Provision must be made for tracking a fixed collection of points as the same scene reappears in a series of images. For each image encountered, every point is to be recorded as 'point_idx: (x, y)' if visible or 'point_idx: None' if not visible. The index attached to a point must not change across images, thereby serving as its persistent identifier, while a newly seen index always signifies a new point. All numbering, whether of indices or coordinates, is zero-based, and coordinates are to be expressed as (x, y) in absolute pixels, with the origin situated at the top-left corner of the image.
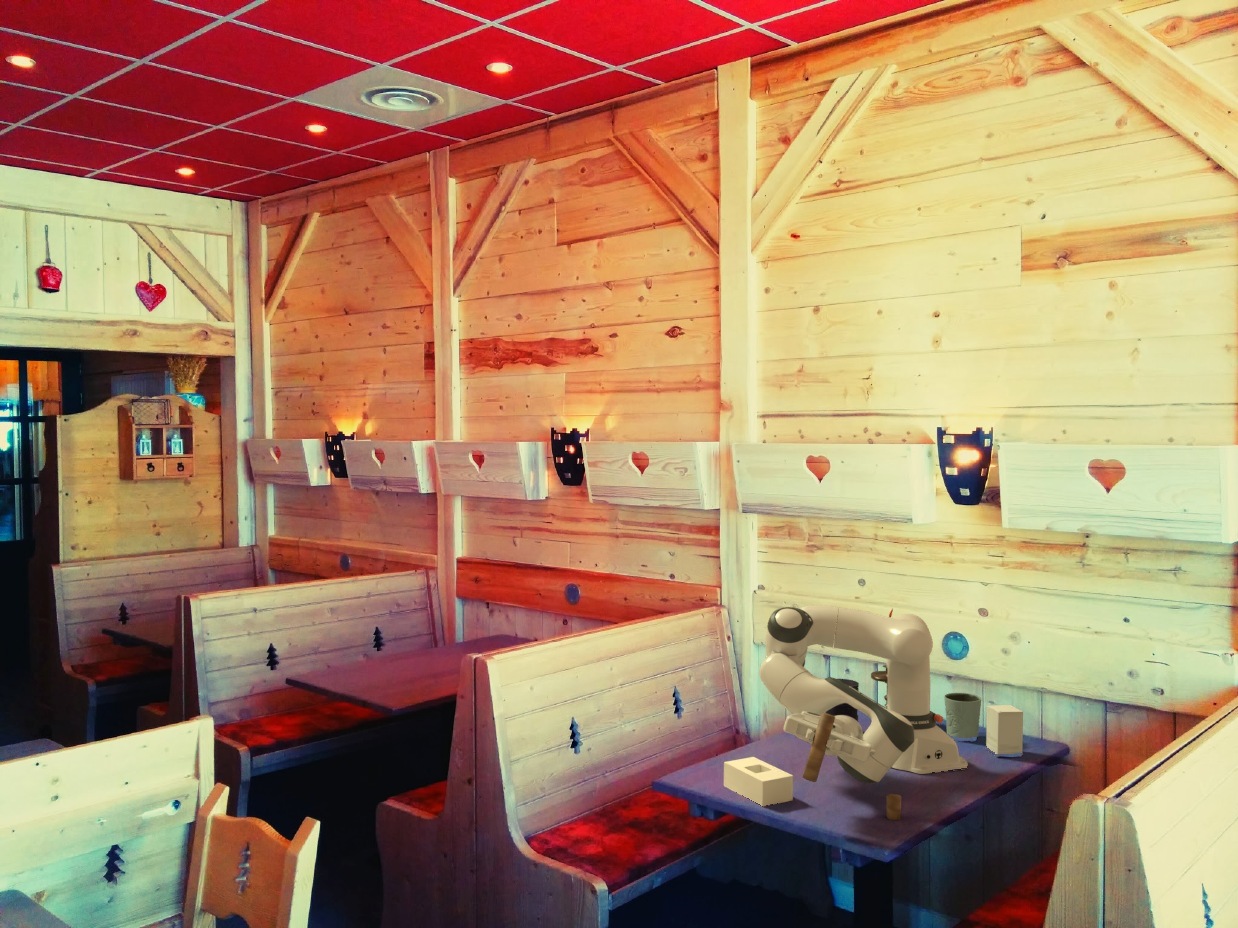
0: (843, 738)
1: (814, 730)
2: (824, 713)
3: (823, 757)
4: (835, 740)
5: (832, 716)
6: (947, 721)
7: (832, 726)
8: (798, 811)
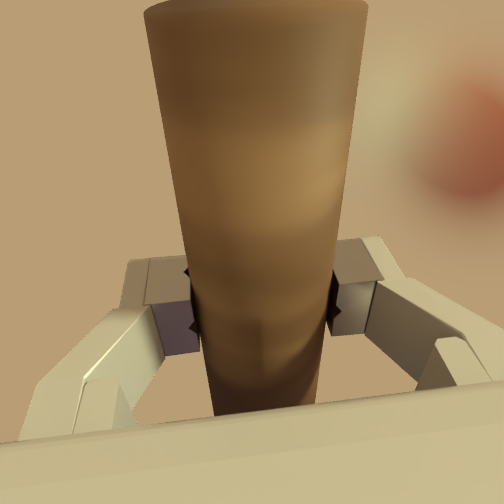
0: (5, 448)
1: (453, 383)
2: (317, 5)
3: (209, 386)
4: (124, 317)
5: (188, 11)
6: None
7: (167, 147)
8: None
